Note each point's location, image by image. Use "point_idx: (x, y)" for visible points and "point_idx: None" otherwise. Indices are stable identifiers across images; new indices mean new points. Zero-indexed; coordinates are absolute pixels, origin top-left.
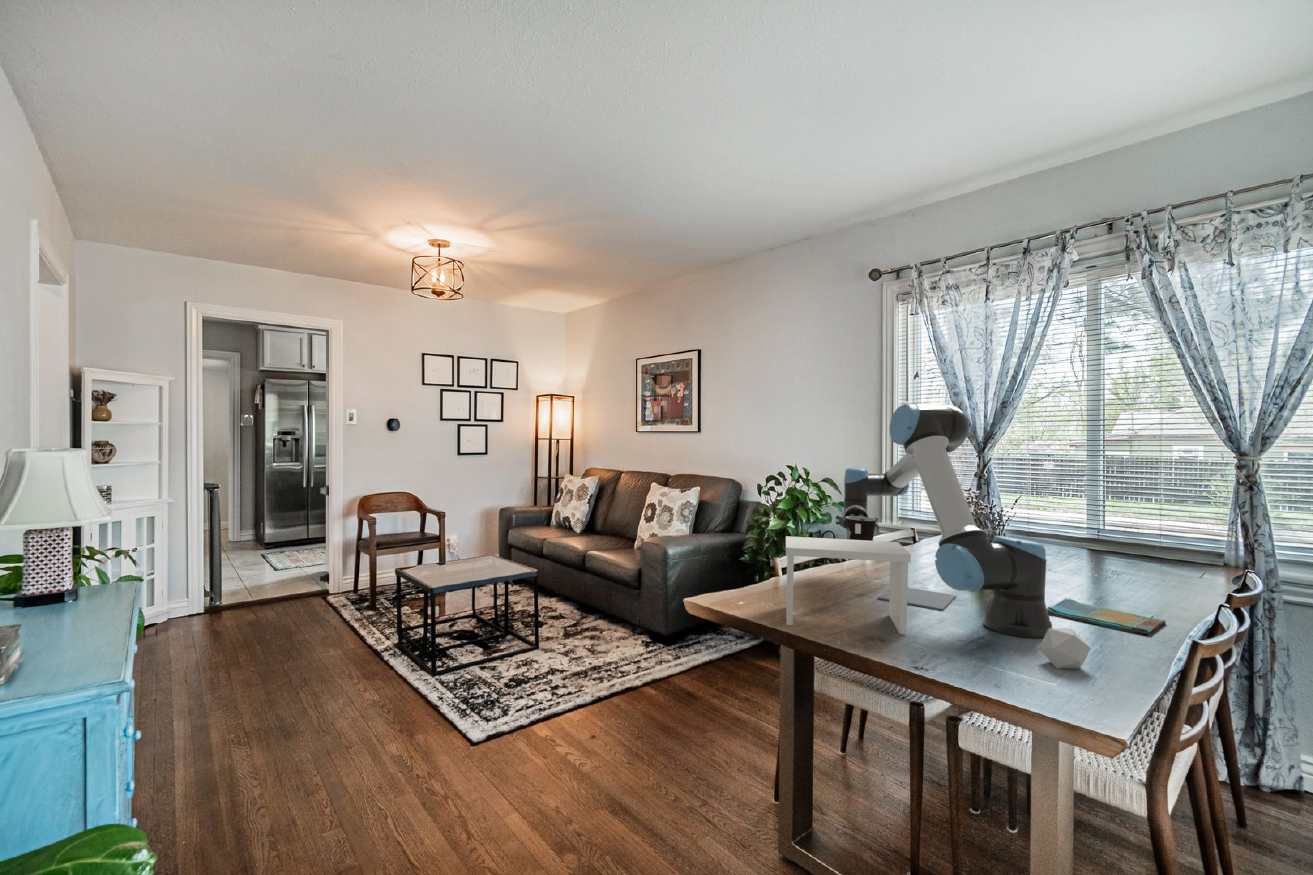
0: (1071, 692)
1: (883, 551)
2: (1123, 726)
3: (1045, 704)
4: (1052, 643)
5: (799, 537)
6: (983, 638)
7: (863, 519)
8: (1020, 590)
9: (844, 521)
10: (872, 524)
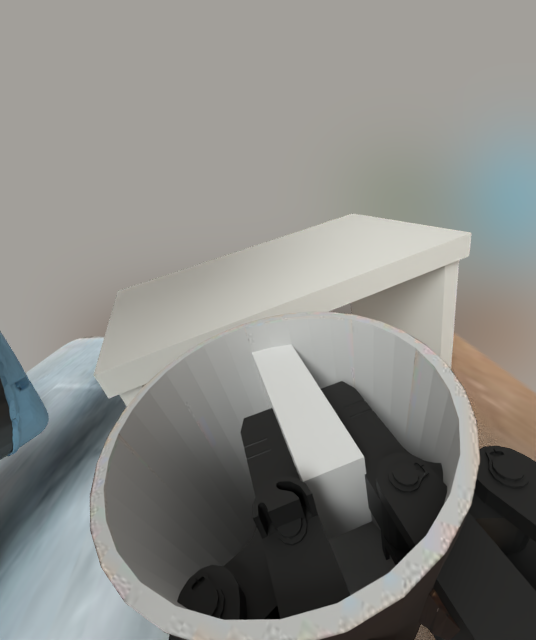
0: (52, 379)
1: (172, 278)
2: (56, 352)
3: (94, 349)
4: None
5: (426, 245)
6: (46, 490)
7: (258, 492)
8: None
9: (532, 474)
10: (166, 406)
